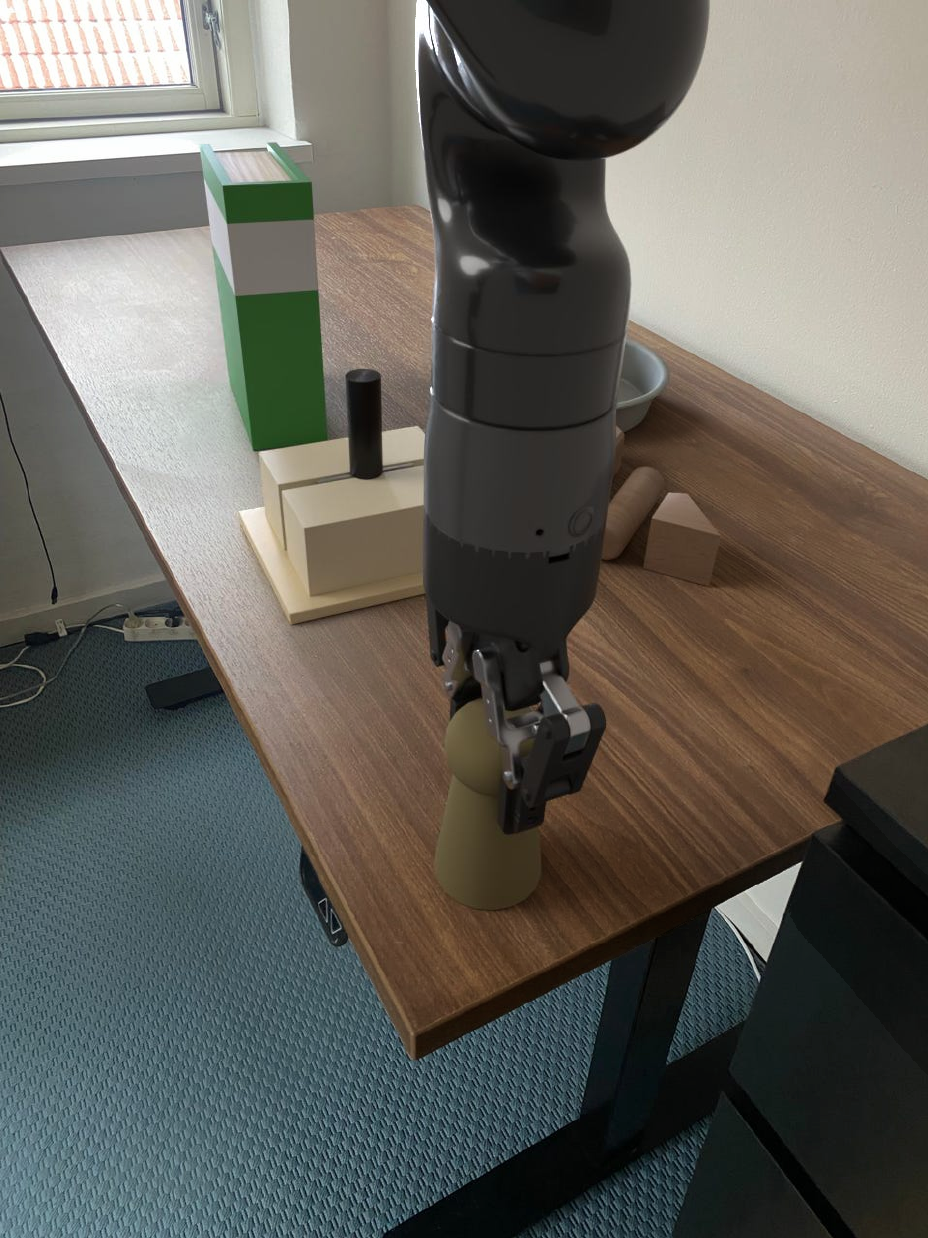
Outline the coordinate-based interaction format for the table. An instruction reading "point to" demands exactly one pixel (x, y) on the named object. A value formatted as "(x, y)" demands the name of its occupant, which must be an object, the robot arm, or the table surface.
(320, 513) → the slotted fixture
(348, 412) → the knife
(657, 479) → the wooden block set
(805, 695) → the table surface
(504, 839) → the chess pawn figurine
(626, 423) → the cake pan
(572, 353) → the robot arm
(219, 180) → the hardback book
